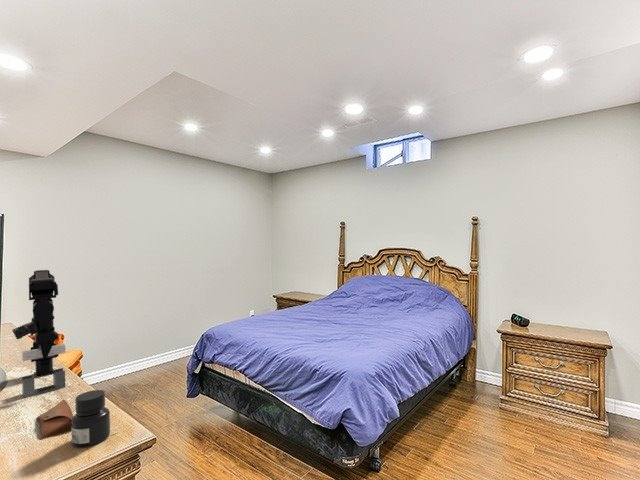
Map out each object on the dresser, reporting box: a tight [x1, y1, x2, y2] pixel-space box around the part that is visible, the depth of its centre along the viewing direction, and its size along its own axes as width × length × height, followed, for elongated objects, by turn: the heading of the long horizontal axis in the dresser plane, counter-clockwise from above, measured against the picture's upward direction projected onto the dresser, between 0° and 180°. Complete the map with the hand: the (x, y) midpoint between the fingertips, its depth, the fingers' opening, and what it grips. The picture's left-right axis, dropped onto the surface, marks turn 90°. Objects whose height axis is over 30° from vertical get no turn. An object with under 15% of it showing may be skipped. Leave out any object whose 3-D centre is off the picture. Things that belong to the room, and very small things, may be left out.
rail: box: [21, 343, 66, 362], centre depth 127 cm, size 3×12×3 cm, turn 135°
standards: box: [21, 367, 66, 399], centre depth 129 cm, size 5×12×6 cm, turn 135°
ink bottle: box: [70, 389, 111, 448], centre depth 96 cm, size 10×9×12 cm
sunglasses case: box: [36, 399, 74, 441], centre depth 105 cm, size 18×7×7 cm, turn 43°
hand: (44, 357), depth 127 cm, fingers closed on rail, 3 cm apart
